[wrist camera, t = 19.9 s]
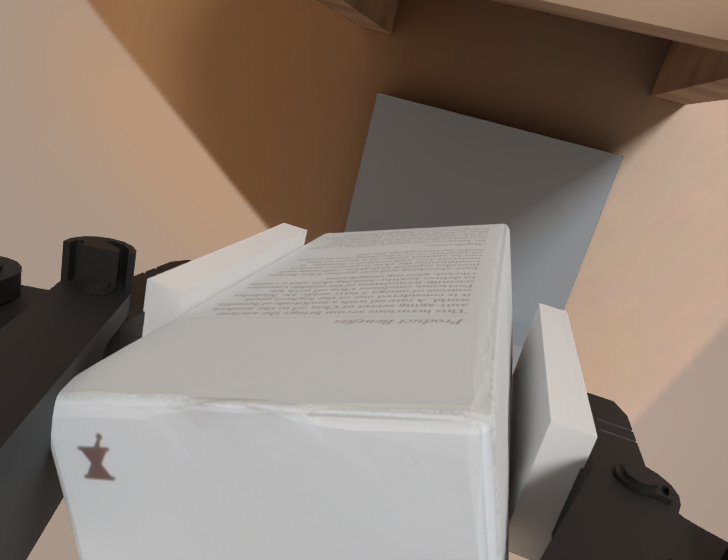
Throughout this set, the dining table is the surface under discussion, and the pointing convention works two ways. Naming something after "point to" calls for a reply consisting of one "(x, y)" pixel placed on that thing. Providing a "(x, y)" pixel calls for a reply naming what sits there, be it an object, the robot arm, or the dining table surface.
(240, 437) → the skincare box
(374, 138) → the pull-out tray
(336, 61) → the dining table surface
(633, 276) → the dining table surface
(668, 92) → the walnut shelf
